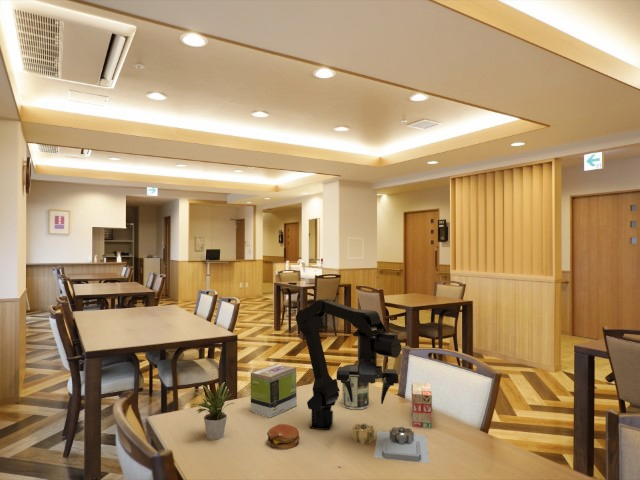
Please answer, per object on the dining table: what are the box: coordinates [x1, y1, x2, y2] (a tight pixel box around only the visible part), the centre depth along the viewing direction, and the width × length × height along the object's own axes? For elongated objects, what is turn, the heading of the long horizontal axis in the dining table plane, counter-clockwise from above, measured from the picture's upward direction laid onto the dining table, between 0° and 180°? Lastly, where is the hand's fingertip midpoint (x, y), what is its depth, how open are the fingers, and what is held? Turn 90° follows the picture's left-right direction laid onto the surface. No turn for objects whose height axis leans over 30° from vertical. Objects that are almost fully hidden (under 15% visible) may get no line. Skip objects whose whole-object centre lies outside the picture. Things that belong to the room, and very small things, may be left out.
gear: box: [389, 426, 415, 445], centre depth 133 cm, size 7×7×3 cm
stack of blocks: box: [411, 382, 433, 429], centre depth 153 cm, size 21×6×12 cm, turn 169°
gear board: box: [373, 430, 430, 464], centre depth 129 cm, size 15×18×3 cm
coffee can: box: [341, 364, 370, 410], centre depth 166 cm, size 10×10×14 cm
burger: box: [266, 423, 301, 450], centre depth 133 cm, size 10×9×5 cm
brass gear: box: [352, 423, 375, 445], centre depth 134 cm, size 7×7×5 cm
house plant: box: [193, 381, 236, 441], centre depth 139 cm, size 14×14×16 cm
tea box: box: [250, 363, 298, 419], centre depth 161 cm, size 15×10×15 cm, turn 144°
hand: (366, 402), depth 134 cm, fingers open, 9 cm apart
